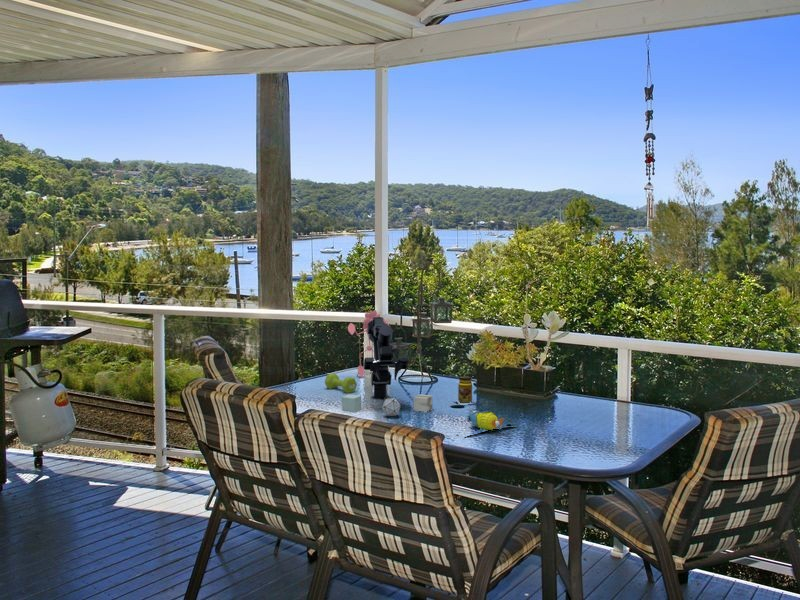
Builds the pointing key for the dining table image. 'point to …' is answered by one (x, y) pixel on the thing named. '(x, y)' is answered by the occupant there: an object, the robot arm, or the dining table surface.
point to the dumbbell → (340, 383)
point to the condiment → (465, 389)
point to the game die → (391, 407)
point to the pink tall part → (352, 329)
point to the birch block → (422, 403)
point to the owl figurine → (484, 419)
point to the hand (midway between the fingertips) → (387, 379)
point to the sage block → (351, 403)
